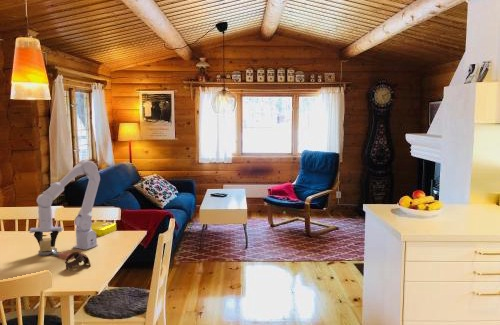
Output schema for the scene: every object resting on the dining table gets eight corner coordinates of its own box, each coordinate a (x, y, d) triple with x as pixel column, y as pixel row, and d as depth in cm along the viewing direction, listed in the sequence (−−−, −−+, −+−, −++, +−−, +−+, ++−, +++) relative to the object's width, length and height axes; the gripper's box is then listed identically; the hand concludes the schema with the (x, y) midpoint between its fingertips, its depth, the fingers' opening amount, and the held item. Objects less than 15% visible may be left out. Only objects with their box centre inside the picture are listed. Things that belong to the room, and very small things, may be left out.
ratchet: (80, 255, 192) (80, 246, 191) (66, 261, 185) (66, 251, 184) (49, 249, 201) (48, 240, 200) (34, 254, 194) (34, 245, 193)
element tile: (97, 228, 241) (96, 220, 241) (118, 230, 236) (117, 222, 236) (78, 235, 227) (78, 226, 227) (100, 237, 222) (100, 229, 222)
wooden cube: (54, 247, 198) (54, 237, 198) (51, 250, 193) (50, 240, 193) (44, 248, 198) (43, 238, 197) (40, 251, 193) (39, 241, 192)
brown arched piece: (93, 269, 175) (83, 256, 171) (72, 281, 173) (62, 268, 169) (90, 254, 185) (81, 242, 181) (71, 265, 183) (61, 253, 179)
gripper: (64, 216, 198) (65, 243, 200) (33, 217, 197) (35, 244, 198) (59, 220, 192) (60, 247, 193) (26, 221, 190) (28, 249, 191)
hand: (47, 246), depth 195 cm, fingers closed on wooden cube, 5 cm apart
